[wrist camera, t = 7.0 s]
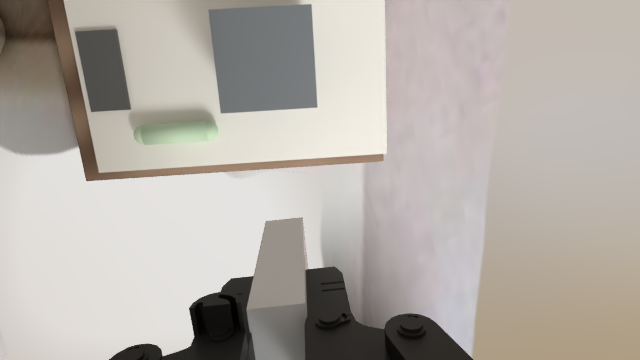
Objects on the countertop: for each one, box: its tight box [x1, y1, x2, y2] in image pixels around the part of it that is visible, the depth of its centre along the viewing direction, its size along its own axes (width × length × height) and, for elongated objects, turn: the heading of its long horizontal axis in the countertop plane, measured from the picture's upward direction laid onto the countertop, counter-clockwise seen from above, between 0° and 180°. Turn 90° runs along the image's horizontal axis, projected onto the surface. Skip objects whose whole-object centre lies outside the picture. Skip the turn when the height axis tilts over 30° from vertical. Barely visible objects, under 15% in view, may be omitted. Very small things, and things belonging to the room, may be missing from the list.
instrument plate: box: [64, 0, 387, 173], centre depth 29 cm, size 16×24×9 cm, turn 93°
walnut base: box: [47, 0, 383, 181], centre depth 35 cm, size 18×26×3 cm
